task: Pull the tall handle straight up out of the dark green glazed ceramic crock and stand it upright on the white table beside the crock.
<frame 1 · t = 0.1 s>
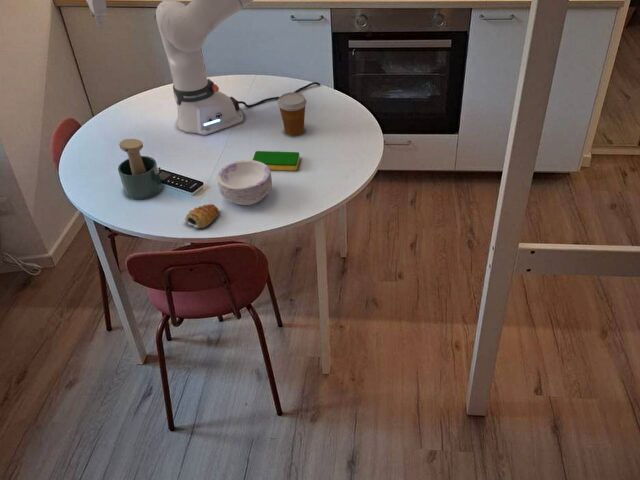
hand: (97, 21, 178), 39 cm above the table, tool pointing down, fingers open, 8 cm apart
crock: (143, 188, 182), on the table
pastry: (202, 220, 170), on the table
disposable coffee cup: (294, 131, 206), on the table
white bowl: (247, 196, 179), on the table
dish sponge: (276, 164, 191), on the table
handle: (143, 188, 182), resting on crock
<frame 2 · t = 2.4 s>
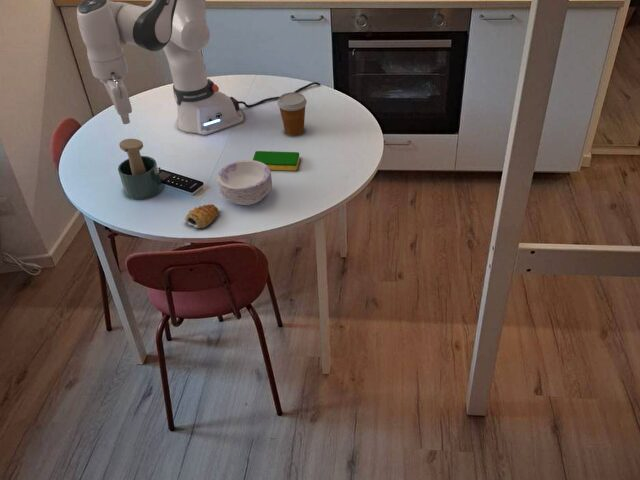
hand: (122, 115, 166), 24 cm above the table, tool pointing down, fingers open, 8 cm apart
nothing on the table moved.
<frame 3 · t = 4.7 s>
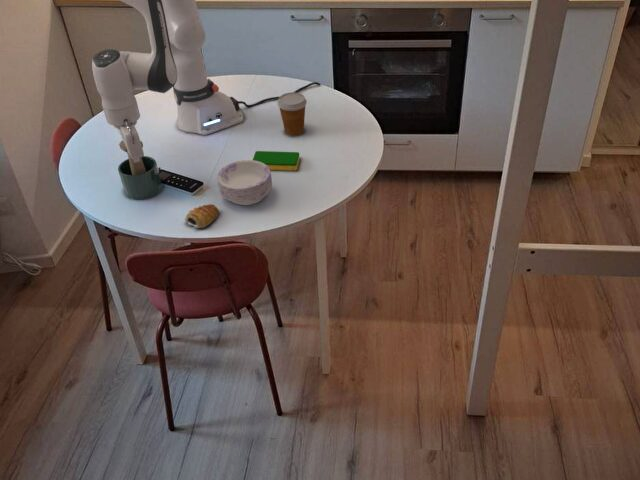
hand: (134, 156, 175), 11 cm above the table, tool pointing down, fingers closed on handle, 4 cm apart
handle: (143, 188, 182), resting on crock, touching gripper
everything else where it was.
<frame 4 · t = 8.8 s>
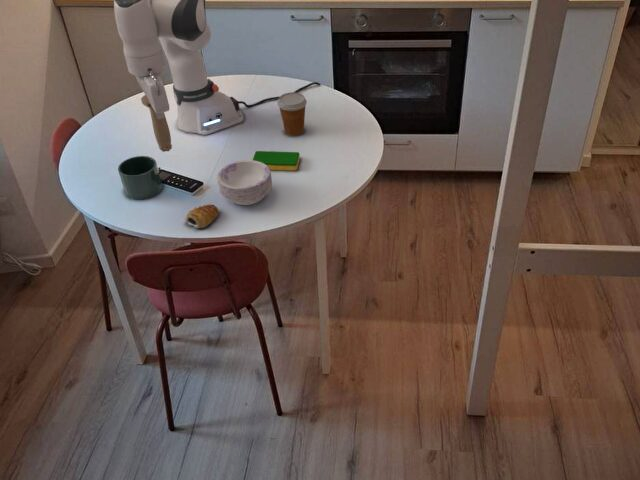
hand: (157, 113, 159), 28 cm above the table, tool pointing down, fingers closed on handle, 4 cm apart
handle: (166, 149, 166), point 17 cm above the table, touching gripper
everything else where it was.
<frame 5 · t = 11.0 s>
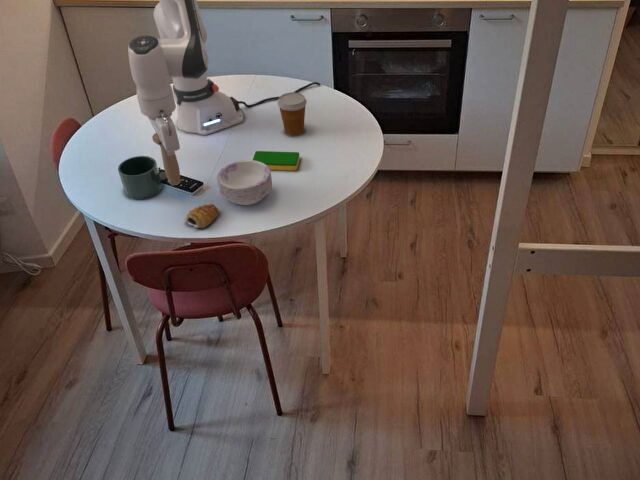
hand: (167, 150, 166), 17 cm above the table, tool pointing down, fingers closed on handle, 4 cm apart
handle: (175, 183, 173), point 6 cm above the table, touching gripper
everything else where it was.
when the fingers open (11 cm above the table, at t = 12.9 s): handle stays where it is, on the table.
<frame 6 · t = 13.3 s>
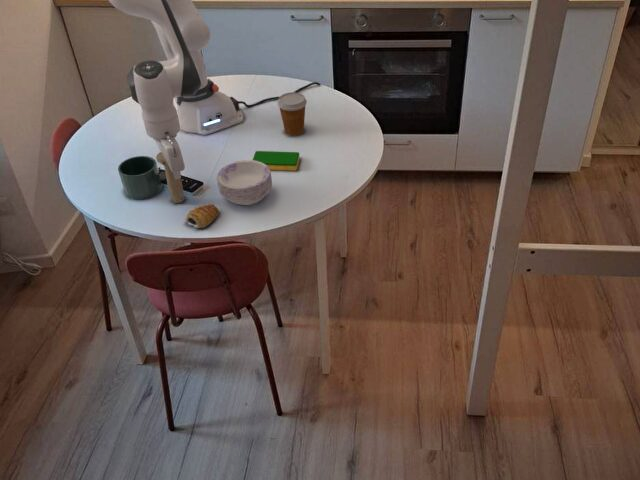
hand: (173, 169, 170), 11 cm above the table, tool pointing down, fingers open, 8 cm apart
handle: (178, 201, 177), on the table
everything else where it was.
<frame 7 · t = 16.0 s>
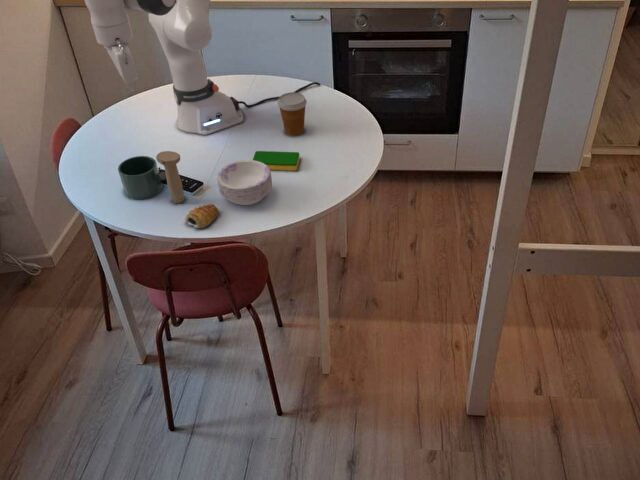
hand: (128, 84, 162), 32 cm above the table, tool pointing down, fingers open, 8 cm apart
nothing on the table moved.
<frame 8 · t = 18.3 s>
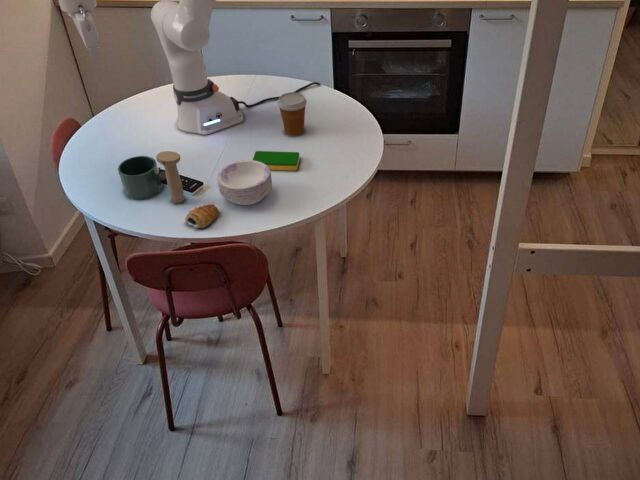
hand: (93, 52, 165), 37 cm above the table, tool pointing down, fingers open, 8 cm apart
nothing on the table moved.
at the end: handle inside the target area (0.8 cm from its centre), on the table; handle tilted 0°; the gripper is holding nothing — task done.
